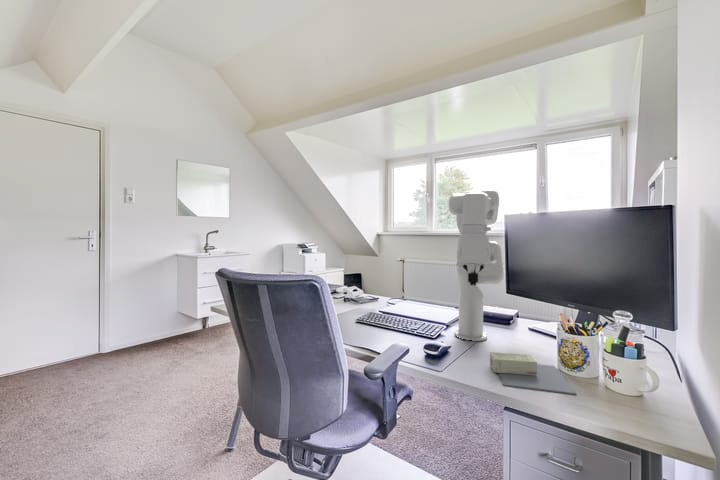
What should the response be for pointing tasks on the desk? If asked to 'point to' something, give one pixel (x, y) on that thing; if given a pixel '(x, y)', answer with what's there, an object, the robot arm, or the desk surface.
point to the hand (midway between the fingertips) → (472, 284)
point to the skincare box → (513, 363)
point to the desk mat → (539, 380)
